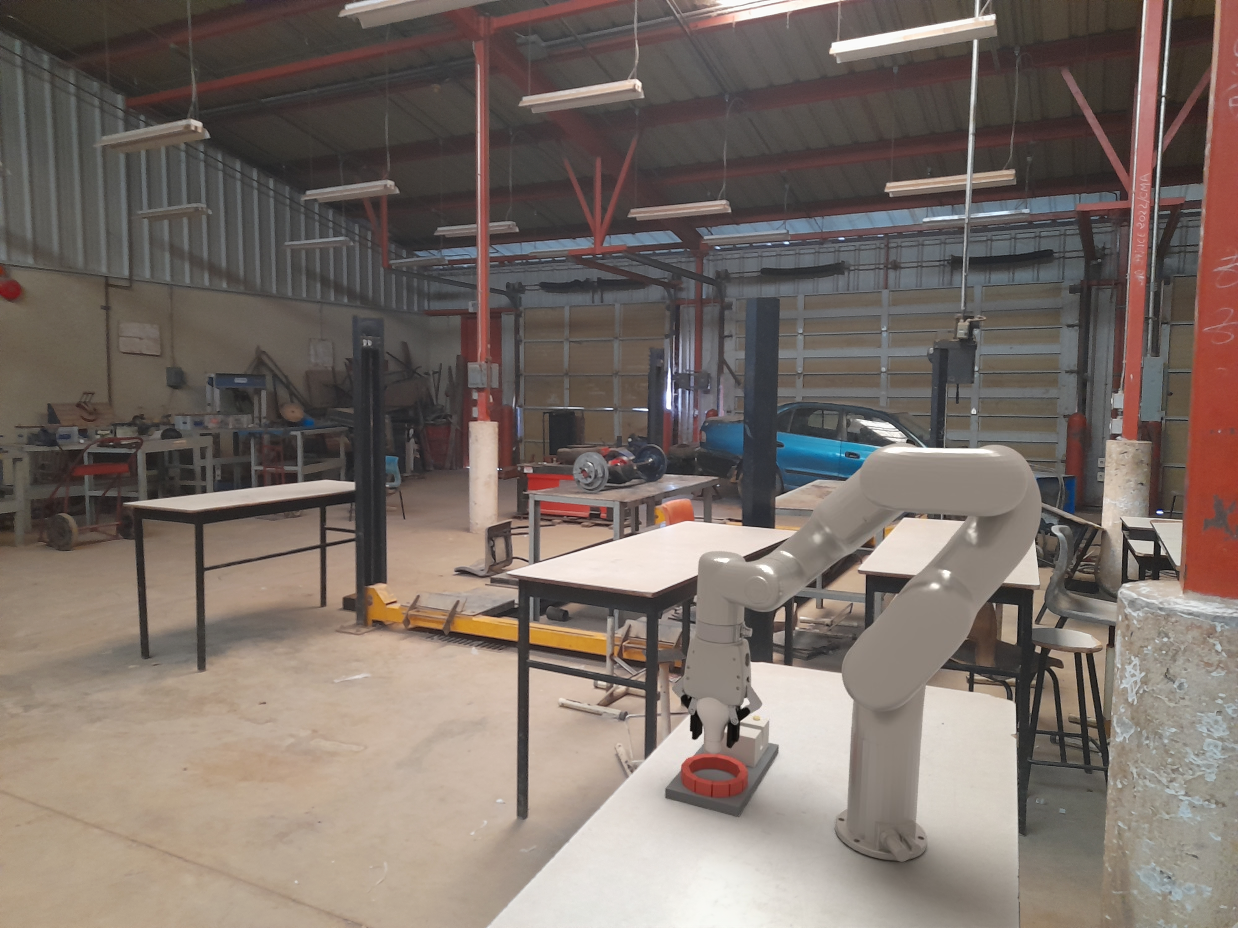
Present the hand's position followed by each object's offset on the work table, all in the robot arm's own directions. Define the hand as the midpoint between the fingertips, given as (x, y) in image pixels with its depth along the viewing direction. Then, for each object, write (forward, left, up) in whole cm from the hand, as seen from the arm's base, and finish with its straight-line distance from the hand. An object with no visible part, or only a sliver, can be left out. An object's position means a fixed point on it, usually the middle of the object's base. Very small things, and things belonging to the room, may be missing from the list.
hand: (714, 739), depth 125 cm
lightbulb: (0, 0, -3) cm, 3 cm away
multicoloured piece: (+5, -3, -8) cm, 10 cm away
